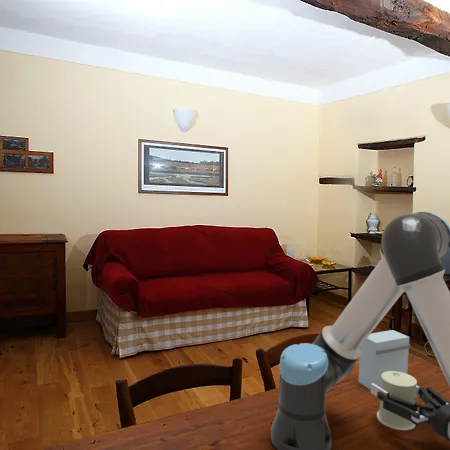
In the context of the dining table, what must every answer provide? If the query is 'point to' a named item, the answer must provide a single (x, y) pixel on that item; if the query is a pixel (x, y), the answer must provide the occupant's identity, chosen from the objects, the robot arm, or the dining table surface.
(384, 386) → the can
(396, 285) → the robot arm
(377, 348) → the pale blue footed box
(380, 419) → the coaster
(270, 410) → the dining table surface
